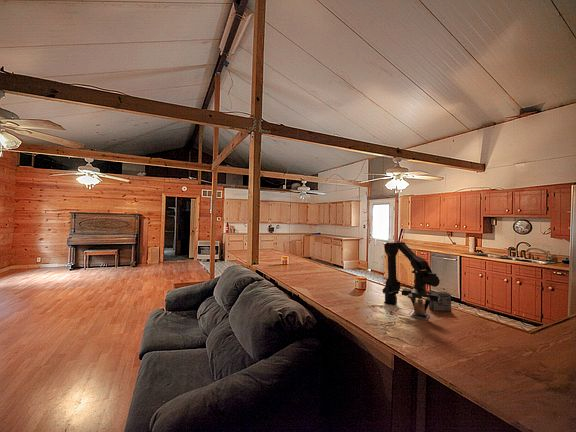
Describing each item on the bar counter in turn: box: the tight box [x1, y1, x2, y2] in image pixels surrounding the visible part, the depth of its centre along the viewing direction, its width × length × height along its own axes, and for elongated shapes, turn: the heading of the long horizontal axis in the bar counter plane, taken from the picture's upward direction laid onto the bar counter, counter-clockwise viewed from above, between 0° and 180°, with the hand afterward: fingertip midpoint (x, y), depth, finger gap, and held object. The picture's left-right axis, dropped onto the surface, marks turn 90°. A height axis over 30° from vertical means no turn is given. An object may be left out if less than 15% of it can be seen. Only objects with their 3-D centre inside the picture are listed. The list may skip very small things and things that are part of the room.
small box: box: [428, 291, 452, 313], centre depth 156 cm, size 11×6×10 cm, turn 84°
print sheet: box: [391, 306, 414, 317], centre depth 153 cm, size 10×12×1 cm
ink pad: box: [410, 312, 431, 321], centre depth 145 cm, size 8×8×1 cm
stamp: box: [413, 298, 427, 315], centre depth 145 cm, size 5×5×8 cm
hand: (420, 310), depth 145 cm, fingers closed on stamp, 5 cm apart
